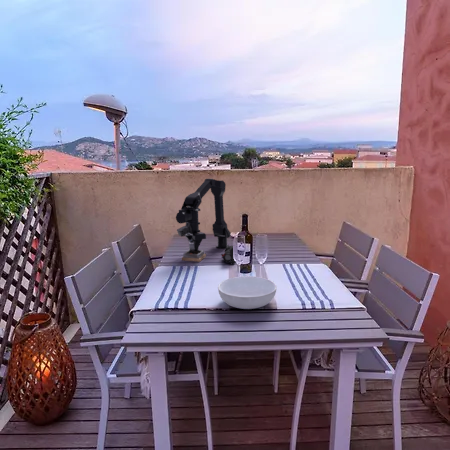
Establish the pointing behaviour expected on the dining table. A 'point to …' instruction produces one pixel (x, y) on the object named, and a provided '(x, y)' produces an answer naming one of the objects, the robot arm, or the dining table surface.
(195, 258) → the mount
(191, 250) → the lens
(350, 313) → the dining table surface
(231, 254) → the night vision scope
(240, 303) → the serving bowl
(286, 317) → the dining table surface
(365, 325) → the dining table surface
